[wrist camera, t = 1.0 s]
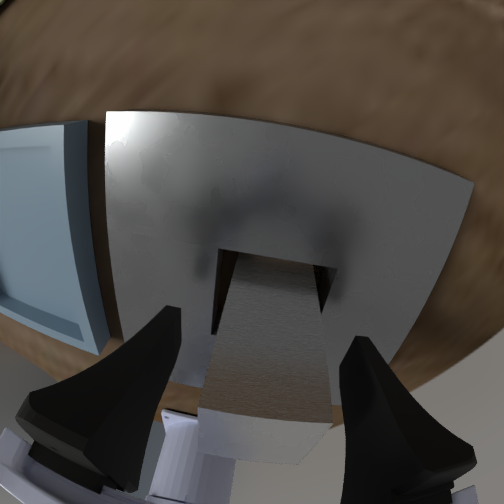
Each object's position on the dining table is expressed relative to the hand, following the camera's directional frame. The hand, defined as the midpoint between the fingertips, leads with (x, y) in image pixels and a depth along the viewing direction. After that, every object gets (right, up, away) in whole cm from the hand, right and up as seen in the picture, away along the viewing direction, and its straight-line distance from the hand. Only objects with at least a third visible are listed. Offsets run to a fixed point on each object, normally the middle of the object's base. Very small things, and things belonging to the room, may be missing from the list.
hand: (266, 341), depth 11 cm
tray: (-16, +5, +4) cm, 18 cm away
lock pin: (0, +2, +4) cm, 4 cm away
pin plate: (0, +2, +4) cm, 4 cm away
